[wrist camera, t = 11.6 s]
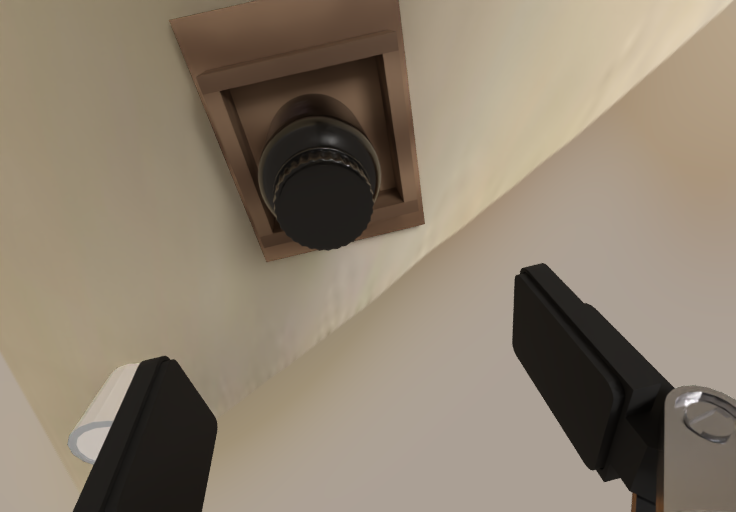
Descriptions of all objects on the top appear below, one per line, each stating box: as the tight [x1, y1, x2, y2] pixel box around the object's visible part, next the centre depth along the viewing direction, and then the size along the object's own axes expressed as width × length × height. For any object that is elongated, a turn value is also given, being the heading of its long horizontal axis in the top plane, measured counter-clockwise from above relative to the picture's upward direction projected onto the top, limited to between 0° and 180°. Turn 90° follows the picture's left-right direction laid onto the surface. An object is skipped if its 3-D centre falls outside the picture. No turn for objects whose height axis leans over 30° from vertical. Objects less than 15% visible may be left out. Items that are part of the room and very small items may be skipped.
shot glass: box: [68, 363, 140, 465], centre depth 37 cm, size 7×7×7 cm
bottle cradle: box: [169, 0, 425, 262], centre depth 27 cm, size 18×14×4 cm
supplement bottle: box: [258, 93, 381, 250], centre depth 23 cm, size 7×7×12 cm
